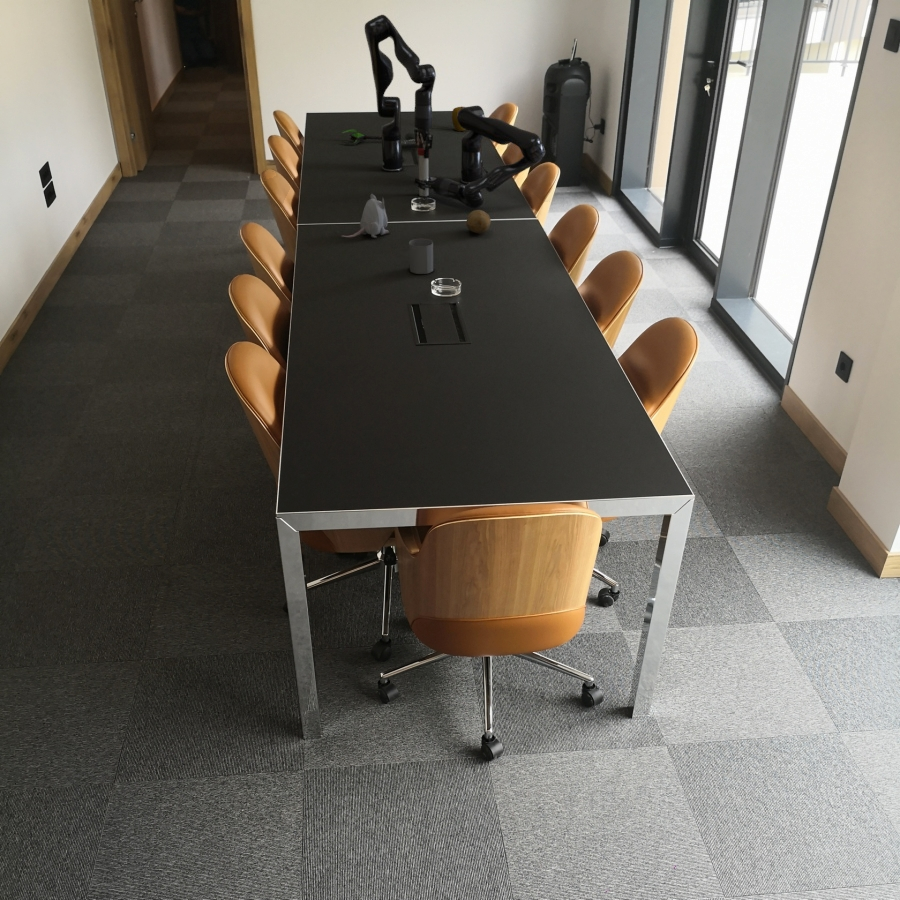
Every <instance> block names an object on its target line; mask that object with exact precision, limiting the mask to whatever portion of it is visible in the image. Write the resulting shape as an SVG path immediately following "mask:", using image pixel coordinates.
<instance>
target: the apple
mask: <svg viewBox="0 0 900 900" xmlns="http://www.w3.org/2000/svg"><path fill="white" fill-rule="evenodd" d="M465 107H466V106H462V105H461V106H457V107H454V108H452V111H451V121H452V125H453V128H454V129H455V131H457V132H463V131H467V130H466V129H464V128H462V127H461V126H460V124H459V123H458V120H457V114H458V112H459V111H460V110H461V109H462V108H465Z"/></svg>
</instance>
